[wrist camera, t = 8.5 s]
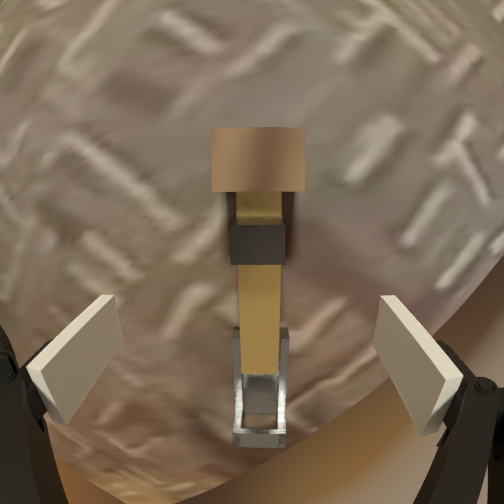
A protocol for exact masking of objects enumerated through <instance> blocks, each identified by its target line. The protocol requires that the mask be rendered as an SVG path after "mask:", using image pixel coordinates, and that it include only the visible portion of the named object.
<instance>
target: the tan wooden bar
mask: <svg viewBox="0 0 504 504" xmlns="http://www.w3.org/2000/svg"><path fill="white" fill-rule="evenodd" d="M236 215H237V216H235V217H234V219H233V221H232V222H231V224H230V251H231V265H238V290H239V321H240V348H241V373H242V374H278V355H279V327H280V290H281V265H285V226H286V225H285V222H284V218H283V216H282V192H280V191H258V192H236Z"/></svg>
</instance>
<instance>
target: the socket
mask: <svg viewBox="0 0 504 504" xmlns="http://www.w3.org/2000/svg"><path fill="white" fill-rule="evenodd" d="M211 179H212V192H258V191H280V192H305V128H279V127H262V128H224V129H211Z"/></svg>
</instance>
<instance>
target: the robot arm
mask: <svg viewBox="0 0 504 504" xmlns="http://www.w3.org/2000/svg"><path fill="white" fill-rule="evenodd" d="M123 343H124V339H123V335H122V331H121V326H120V322H119V317H118V312H117V307H116V302H115V297H114V295H101V296H100V297H99V298H98V299H96V300H95V301H94V302H93V303H92V304H91V305H90V306H89V307H88V308H87V309H85V310H84V311H83V312H82V313H81V314H80V315H79V316H78V317H77V318H76V319H75V320H74V321H72V322H71V323H70V324H69V325H68V326H67V327H66V328H65V329H64V330H63V331H62V332H61V333H60V334H59V335H58V336H57V337H55V338H53V339H51V340H49V341H48V342H46V343H45V344H44V345H43V346H42V347H41V348H40V350H38V351H37V352H36V353H35V354H34V355H33V356H32V357H31V358H30V359H29V360H28V361H27V362H26V363H25V364H24V365H23V366H22V367H21V368H19V366H18V364H17V361H16V359H15V356H14V354H13V351H12V348H11V345H10V343H9V341H8V339H7V337H6V335H5V333H4V332H3V330H2V328H1V327H0V504H69V503H68V501H67V498H66V495H65V492H64V489H63V486H62V483H61V480H60V477H59V473H58V470H57V466H56V462H55V459H54V455H53V451H52V447H51V443H50V438H49V434H48V429H47V424H46V421H45V419H44V417H43V415H44V414H45V413H46V411H47V412H48V414H49V415H50V417H51V419H52V421H54V422H57V423H60V424H63V425H66V426H67V425H68V423H69V422H70V420H71V419H72V417H73V416H74V414H75V412H76V411H77V409H78V408H79V406H80V405H81V403H82V402H83V400H84V399H85V397H86V396H87V394H88V393H89V391H90V390H91V388H92V387H93V386H94V384H95V383H96V381H97V380H98V378H99V377H100V375H101V374H102V372H103V371H104V370H105V368H106V367H107V365H108V364H109V362H110V361H111V360H112V358H113V357H114V355H115V354H116V352H117V351H118V350H119V348H120V347H121V345H122V344H123ZM373 346H374V348H375V350H376V351H377V353H378V355H379V357H380V359H381V361H382V362H383V364H384V366H385V368H386V370H387V372H388V374H389V376H390V377H391V379H392V381H393V383H394V385H395V387H396V389H397V391H398V393H399V395H400V397H401V398H402V401H403V403H404V404H405V407H406V408H407V410H408V413H409V414H410V416H411V419H412V420H413V423H414V425H415V426H416V429H417V430H418V433H419V435H420V436H424V435H428V434H431V433H435V432H437V431H438V429H439V427H440V425H441V424H442V422H444V424H445V425H446V427H447V428H446V430H445V432H444V434H443V436H442V438H441V439H440V441H439V443H438V444H437V447H438V450H437V452H436V455H435V458H434V460H433V462H432V465H431V467H430V469H429V472H428V474H427V476H426V478H425V480H424V482H423V484H422V486H421V489H420V491H419V493H418V495H417V497H416V499H415V500H414V502H413V504H477V501H478V498H479V494H480V491H481V488H482V484H483V480H484V477H485V473H486V469H487V465H488V500H487V504H504V388H498V386H497V385H496V384H495V382H493V381H492V380H490V379H488V378H485V377H475V375H474V374H473V373H472V372H471V371H470V369H469V368H468V367H467V366H466V365H465V363H464V362H463V361H462V360H460V358H459V356H458V355H457V354H455V352H454V351H453V349H452V348H451V347H450V346H449V345H447V344H445V343H444V342H442V341H440V340H439V341H435V340H434V339H433V338H432V337H431V336H430V334H429V333H428V332H427V331H426V330H425V329H424V328H423V326H422V325H421V324H420V323H419V322H418V321H417V320H416V318H415V317H414V316H413V315H412V314H411V313H410V312H409V311H408V309H407V308H406V307H405V306H404V305H403V304H402V303H401V302H400V301H399V299H398V298H397V297H396V296H395V295H390V296H381V298H380V304H379V311H378V317H377V322H376V328H375V333H374V338H373Z"/></svg>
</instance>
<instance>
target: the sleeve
mask: <svg viewBox="0 0 504 504" xmlns="http://www.w3.org/2000/svg"><path fill="white" fill-rule="evenodd" d="M232 351H233V369H234V386H235V401H236V409H235V417H234V424H233V431H232V435H233V446H234V447H256V448H285V439H286V422H285V398H286V384H287V369H288V353H289V332H288V328H279V355H278V374H242V373H241V348H240V327H234V330H233V335H232ZM244 413H248V414H277V429H243V420H244Z"/></svg>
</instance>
